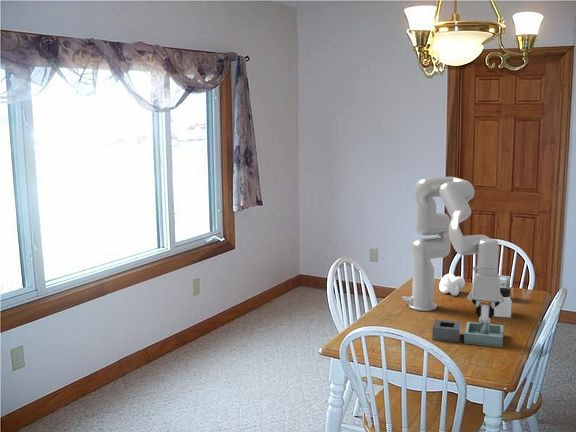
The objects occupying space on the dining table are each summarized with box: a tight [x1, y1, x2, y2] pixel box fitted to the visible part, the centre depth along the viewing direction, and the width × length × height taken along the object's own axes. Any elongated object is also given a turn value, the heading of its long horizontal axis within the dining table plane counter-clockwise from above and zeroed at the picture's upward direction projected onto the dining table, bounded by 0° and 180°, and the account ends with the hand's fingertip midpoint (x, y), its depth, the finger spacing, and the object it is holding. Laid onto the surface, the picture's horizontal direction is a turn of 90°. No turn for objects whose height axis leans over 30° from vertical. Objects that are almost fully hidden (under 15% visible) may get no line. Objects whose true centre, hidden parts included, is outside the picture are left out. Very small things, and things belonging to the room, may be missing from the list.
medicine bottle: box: [493, 287, 513, 319], centre depth 284 cm, size 7×7×12 cm
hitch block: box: [431, 319, 462, 344], centre depth 258 cm, size 10×10×5 cm
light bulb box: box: [498, 274, 511, 290], centre depth 307 cm, size 11×7×11 cm, turn 58°
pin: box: [478, 300, 492, 335], centre depth 255 cm, size 5×5×14 cm
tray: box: [463, 321, 505, 348], centre depth 256 cm, size 14×14×4 cm
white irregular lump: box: [438, 273, 466, 297], centre depth 316 cm, size 11×12×9 cm
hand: (484, 316), depth 255 cm, fingers closed on pin, 4 cm apart
